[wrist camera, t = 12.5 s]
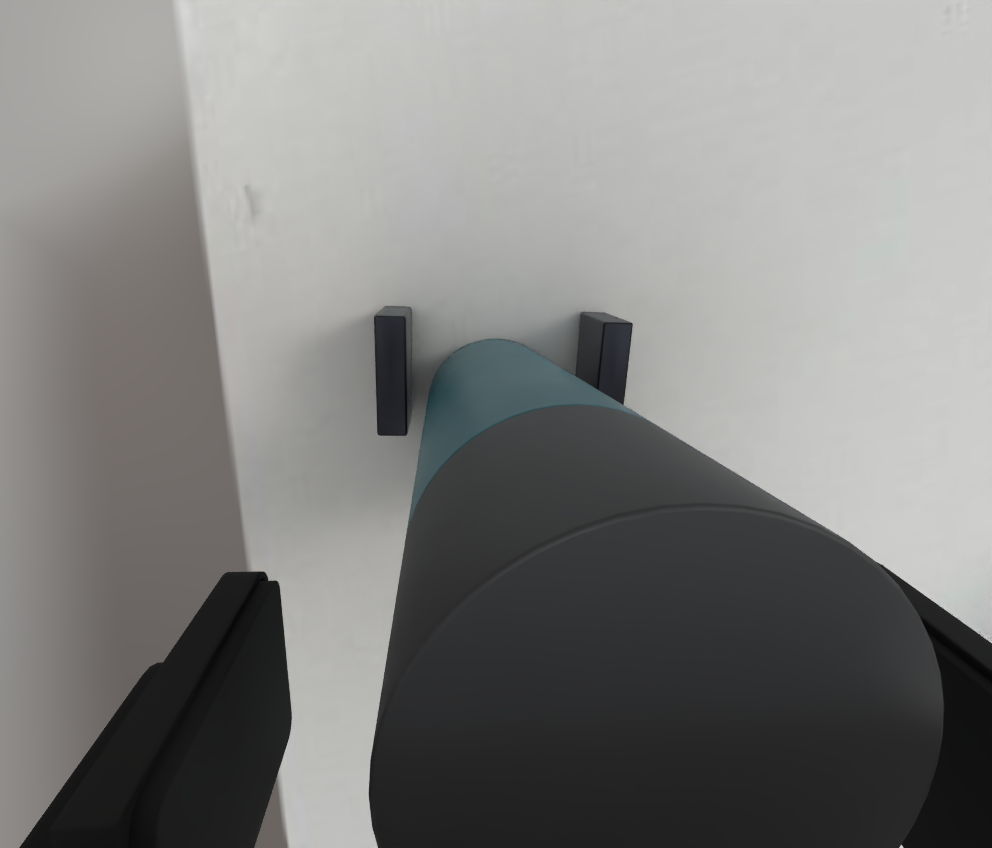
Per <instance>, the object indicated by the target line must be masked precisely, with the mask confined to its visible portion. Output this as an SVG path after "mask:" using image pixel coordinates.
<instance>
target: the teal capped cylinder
mask: <svg viewBox="0 0 992 848" xmlns="http://www.w3.org/2000/svg"><path fill="white" fill-rule="evenodd" d="M943 717H944V700H943V690H942V681H941V673H940V670H939V666H938V662H937V659H936V655H935V651H934V648H933V644H932V642H931V640H930V638H929V636H928V633H927V631H926V629H925V627H924V625H923V623H922V620H921V618H920V616H919V614H918V613H917V611H916V610H915V608H914V607H913V605H912V604H911V603H910V601H909V600H908V598H907V597H906V595H905V594H904V592H903V591H902V589H901V588H900V586H899V585H898V584H897V583H896V582H895V581H894V580H893V579H892V578H891V577H890V576H889V575H888V574H887V573H886V572H885V571H884V570H883V569H882V568H881V567H880V566H879V565H878V564H877V562H875V561H874V560H873V559H871V558H870V557H869V556H867V555H866V554H865V553H863V552H862V551H861V550H859V549H858V548H857V547H855V546H854V545H853V544H851V543H850V542H849V541H847V540H845V539H844V538H842V537H840V536H839V535H837V534H835V533H834V532H832V531H830V530H829V529H827V528H825V527H824V526H822V525H820V524H819V523H817V522H815V521H814V520H812V519H811V518H809V517H807V516H806V515H804V514H802V513H801V512H799V511H797V510H796V509H794V508H792V507H791V506H789V505H787V504H786V503H784V502H782V501H781V500H779V499H777V498H776V497H774V496H773V495H771V494H769V493H768V492H766V491H764V490H763V489H761V488H759V487H758V486H756V485H754V484H753V483H751V482H749V481H748V480H746V479H744V478H743V477H741V476H739V475H738V474H736V473H735V472H733V471H731V470H730V469H728V468H726V467H725V466H723V465H721V464H720V463H718V462H716V461H715V460H713V459H711V458H710V457H708V456H706V455H705V454H703V453H701V452H700V451H698V450H697V449H695V448H693V447H692V446H690V445H688V444H687V443H685V442H683V441H682V440H680V439H678V438H677V437H675V436H673V435H672V434H670V433H668V432H667V431H665V430H663V429H662V428H660V427H659V426H657V425H655V424H654V423H652V422H650V421H649V420H647V419H645V418H644V417H642V416H640V415H639V414H637V413H635V412H634V411H632V410H630V409H629V408H627V407H625V406H624V405H622V404H621V403H619V402H617V401H616V400H614V399H612V398H611V397H609V396H607V395H606V394H604V393H602V392H601V391H599V390H597V389H596V388H594V387H592V386H591V385H589V384H587V383H586V382H584V381H583V380H581V379H579V378H578V377H576V376H574V375H573V374H571V373H569V372H568V371H566V370H564V369H563V368H561V367H559V366H558V365H556V364H554V363H553V362H551V361H550V360H548V359H546V358H545V357H543V356H541V355H540V354H538V353H536V352H535V351H533V350H531V349H530V348H528V347H526V346H524V345H522V344H519V343H517V342H514V341H509V340H504V339H486V340H481V341H477V342H474V343H470V344H468V345H466V346H464V347H462V348H460V349H459V350H457V351H456V352H454V353H453V354H452V355H451V356H450V357H448V358H447V360H446V361H445V362H444V363H443V364H442V365H441V367H440V368H439V370H438V371H437V373H436V375H435V377H434V379H433V381H432V384H431V387H430V391H429V395H428V401H427V408H426V414H425V420H424V427H423V433H422V439H421V446H420V452H419V458H418V465H417V471H416V477H415V484H414V490H413V496H412V503H411V509H410V515H409V521H408V528H407V534H406V540H405V547H404V553H403V559H402V566H401V572H400V578H399V585H398V591H397V597H396V604H395V610H394V616H393V622H392V629H391V635H390V641H389V648H388V654H387V660H386V667H385V673H384V679H383V686H382V692H381V698H380V705H379V711H378V717H377V724H376V730H375V736H374V742H373V749H372V755H371V763H370V781H369V801H370V810H371V820H372V828H373V831H374V835H375V838H376V842H377V845H378V848H899V847H900V845H901V844H902V842H903V841H904V839H905V837H906V836H907V834H908V833H909V831H910V829H911V828H912V826H913V824H914V822H915V820H916V818H917V816H918V814H919V812H920V810H921V808H922V806H923V803H924V801H925V799H926V797H927V795H928V792H929V789H930V786H931V783H932V779H933V776H934V773H935V770H936V767H937V763H938V758H939V753H940V747H941V742H942V737H943Z"/></svg>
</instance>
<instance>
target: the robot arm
mask: <svg viewBox="0 0 992 848" xmlns="http://www.w3.org/2000/svg"><path fill="white" fill-rule="evenodd" d="M877 564H878V565H879V566H880V567H881V568H882V569H883V570H884V571H885V572H886V573H887V574H888V575H889V576H890V577H891V578H892V579H893V580H894V581H895V582H896V583H897V584H898V585H899V586H900V588H901V589H902V591H903V592H904V594H905V595H906V597H907V598H908V600H909V601H910V603H911V604H912V605H913V607H914V608H915V610H916V611H917V613H918V614H919V616H920V618H921V620H922V623H923V625H924V627H925V629H926V631H927V633H928V636H929V638H930V640H931V642H932V644H933V648H934V651H935V655H936V659H937V662H938V666H939V670H940V673H941V681H942V690H943V700H944V717H943V737H942V742H941V747H940V753H939V758H938V763H937V767H936V770H935V773H934V776H933V779H932V783H931V786H930V789H929V792H928V795H927V797H926V799H925V801H924V803H923V806H922V808H921V810H920V812H919V814H918V816H917V818H916V820H915V822H914V824H913V826H912V828H911V829H910V831H909V833H908V834H907V836H906V837H905V839H904V841H903V842H902V844H901V845H902V846H903V847H904V848H992V643H990V642H989V641H988V640H986V639H985V638H983V637H982V636H981V635H979V634H978V633H976V632H975V631H974V630H972V629H971V628H969V627H968V626H967V625H965V624H964V623H962V622H961V621H960V620H958V619H957V618H955V617H954V616H953V615H951V614H950V613H948V612H947V611H946V610H944V609H943V608H941V607H940V606H939V605H937V604H936V603H934V602H933V601H932V600H930V599H929V598H927V597H926V596H925V595H923V594H922V593H920V592H919V591H918V590H916V589H915V588H913V587H912V586H911V585H909V584H908V583H907V582H905V581H904V580H902V579H901V578H900V577H898V576H897V575H895V574H894V573H893V572H891V571H890V570H888V569H887V568H886V567H884V566H883V565H881V564H879V563H877ZM291 720H292V712H291V702H290V691H289V680H288V670H287V659H286V648H285V638H284V627H283V616H282V606H281V595H280V587H279V583H278V582H277V581H268V577H267V575H266V573H265V572H227V573H225V574H224V575H223V576H222V577H221V579H220V580H219V582H218V583H217V585H216V586H215V588H214V589H213V590H212V592H211V593H210V595H209V596H208V598H207V599H206V601H205V602H204V604H203V605H202V607H201V608H200V609H199V611H198V612H197V614H196V615H195V617H194V618H193V620H192V621H191V623H190V624H189V626H188V627H187V628H186V630H185V631H184V633H183V634H182V636H181V637H180V639H179V640H178V642H177V643H176V645H175V646H174V648H173V649H172V650H171V652H170V653H169V655H168V656H167V658H166V659H165V661H164V662H163V663H156V664H154V665H152V666H150V667H149V669H148V670H147V671H146V672H145V673H144V674H143V675H142V677H141V678H140V679H139V681H138V682H137V684H136V685H135V686H134V688H133V689H132V691H131V692H130V694H129V695H128V696H127V698H126V699H125V700H124V702H123V703H122V705H121V706H120V707H119V709H118V710H117V712H116V713H115V714H114V716H113V717H112V719H111V720H110V721H109V723H108V724H107V726H106V727H105V728H104V730H103V731H102V733H101V734H100V735H99V737H98V738H97V740H96V741H95V743H94V744H93V746H92V747H91V748H90V750H89V751H88V752H87V754H86V755H85V757H84V758H83V759H82V761H81V762H80V764H79V765H78V766H77V768H76V769H75V771H74V772H73V773H72V775H71V776H70V778H69V779H68V780H67V782H66V783H65V785H64V786H63V788H62V789H61V790H60V792H59V793H58V794H57V796H56V797H55V799H54V800H53V802H52V803H51V804H50V806H49V807H48V809H47V810H46V811H45V813H44V814H43V815H42V817H41V818H40V820H39V821H38V822H37V824H36V825H35V827H34V828H33V830H32V831H31V832H30V834H29V835H28V837H27V838H26V840H25V841H24V842H23V844H22V845H21V846H20V848H254V846H255V843H256V840H257V837H258V834H259V831H260V828H261V824H262V821H263V818H264V815H265V812H266V809H267V806H268V802H269V799H270V796H271V793H272V790H273V787H274V783H275V781H276V777H277V774H278V771H279V768H280V765H281V762H282V759H283V755H284V752H285V749H286V746H287V743H288V739H289V736H290V730H291Z"/></svg>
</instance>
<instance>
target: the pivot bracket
mask: <svg viewBox="0 0 992 848" xmlns="http://www.w3.org/2000/svg"><path fill="white" fill-rule="evenodd" d="M632 326H633V324H632V323H630V322H628V321H625V320H623V319H620V318H617V317H615V316H612V315H609V314H607V313H597V312H582V313H581V319H580V331H579V343H578V355H577V366H576V377H578V378H579V379H581V380H583V381H584V382H586V383H587V384H589V385H591V386H592V387H594V388H596V389H597V390H599V391H601V392H602V393H604V394H606V395H607V396H609V397H611V398H612V399H614V400H616V401H617V402H619V403H621V404H622V405H624V397H625V388H626V379H627V370H628V362H629V353H630V344H631V335H632ZM374 333H375V368H376V402H377V434H378V435H380V436H406V435H407V433H408V428H409V423H410V419H411V414H412V309H411V307H399V306H385V307H384V308H383V309H382V310H381V311H380V312H379V313H377V314H376V315H375V317H374Z"/></svg>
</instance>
